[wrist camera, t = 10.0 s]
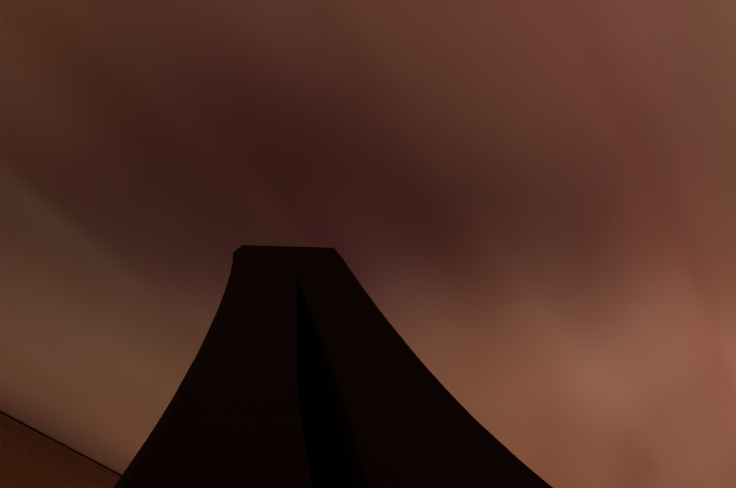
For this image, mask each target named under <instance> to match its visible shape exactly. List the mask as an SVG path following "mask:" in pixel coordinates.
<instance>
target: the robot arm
mask: <svg viewBox="0 0 736 488" xmlns="http://www.w3.org/2000/svg"><path fill="white" fill-rule="evenodd" d="M113 488H553V487H551V486H550V485H549V484H547V483H546V482H545V481H544V480H543V479H541V478H540V477H539V476H538V475H537V474H535V473H534V472H533V471H532V470H531V469H530V468H528V467H527V466H526V465H525V464H524V463H522V462H521V461H520V460H519V459H518V458H517V457H516V456H515V455H513V454H512V453H511V452H510V451H509V450H508V449H507V448H506V447H505V446H504V445H503V444H501V443H500V442H499V441H498V440H497V439H496V438H495V437H494V436H493V435H492V434H491V433H489V432H488V431H487V430H486V429H485V428H484V427H483V426H482V425H481V424H480V423H479V422H478V421H477V420H475V419H474V418H473V417H472V416H471V415H470V414H469V412H468V411H467V410H466V409H465V408H464V407H463V406H462V405H461V404H460V403H459V402H458V401H457V400H456V399H455V398H454V397H453V396H452V395H451V394H450V393H449V392H448V390H447V389H446V388H445V387H444V386H443V385H442V384H441V383H440V382H439V381H438V380H437V379H436V378H435V376H434V375H433V374H432V373H431V372H430V371H429V370H428V369H427V367H426V366H425V365H424V364H423V363H422V362H421V361H420V359H419V358H418V357H417V356H416V355H415V353H414V352H413V351H412V350H411V349H410V347H409V346H408V345H407V344H406V343H405V341H404V340H403V339H402V338H401V336H400V335H399V334H398V333H397V332H396V330H395V329H394V328H393V327H392V325H391V324H390V323H389V322H388V320H387V319H386V318H385V316H384V315H383V314H382V313H381V311H380V310H379V309H378V307H377V306H376V305H375V303H374V302H373V301H372V299H371V298H370V297H369V295H368V294H367V293H366V291H365V290H364V288H363V287H362V286H361V284H360V283H359V281H358V280H357V279H356V277H355V276H354V274H353V273H352V271H351V270H350V269H349V267H348V266H347V264H346V263H345V261H344V260H343V258H342V257H341V256H340V254H339V253H338V252H337V251H336V250H335V249H334V248H320V247H284V246H248V245H242V246H241V247H240V248H238V249H237V250H236V251H234V252H233V264H232V268H231V273H230V277H229V280H228V284H227V287H226V290H225V292H224V295H223V298H222V300H221V303H220V306H219V308H218V311H217V313H216V315H215V317H214V320H213V322H212V324H211V326H210V328H209V331H208V333H207V335H206V337H205V339H204V342H203V344H202V346H201V348H200V350H199V352H198V354H197V356H196V358H195V359H194V361H193V363H192V365H191V366H190V368H189V370H188V372H187V374H186V375H185V377H184V379H183V381H182V383H181V384H180V386H179V388H178V390H177V392H176V393H175V395H174V397H173V399H172V400H171V402H170V404H169V405H168V407H167V409H166V410H165V412H164V413H163V415H162V417H161V418H160V420H159V421H158V423H157V425H156V426H155V428H154V429H153V431H152V432H151V434H150V435H149V437H148V438H147V440H146V441H145V443H144V444H143V446H142V447H141V449H140V450H139V452H138V453H137V454H136V456H135V457H134V459H133V460H132V462H131V463H130V465H129V466H128V468H127V469H126V470H125V472H124V473H123V475H122V476H121V477H120V478H119V480H118V481H117V482H116V484H115V485H114V486H113Z"/></svg>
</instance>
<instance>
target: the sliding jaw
mask: <svg viewBox="0 0 736 488" xmlns="http://www.w3.org/2000/svg"><path fill="white" fill-rule="evenodd" d="M120 477H121V476H119V475H117V474H115V473H113V472H112V471H110V470H108V469H106V468H104V467H102V466H100V465H98V464H96V463H94V462H93V461H91V460H89V459H87V458H85V457H83V456H81V455H79V454H77V453H76V452H74V451H72V450H70V449H68V448H66V447H64V446H62V445H60V444H59V443H57V442H55V441H53V440H51V439H49V438H47V437H45V436H43V435H41V434H40V433H38V432H36V431H34V430H32V429H30V428H28V427H26V426H24V425H23V424H21V423H19V422H17V421H15V420H13V419H11V418H9V417H7V416H5V415H4V414H2V413H0V488H113V486H114V485H115V484H116V482H117V481H118V480H119V478H120Z"/></svg>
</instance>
